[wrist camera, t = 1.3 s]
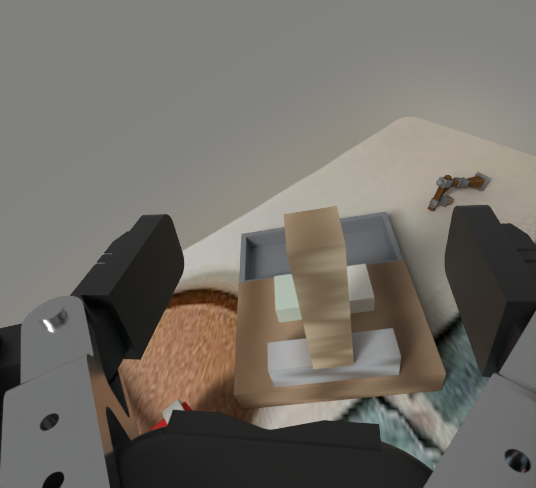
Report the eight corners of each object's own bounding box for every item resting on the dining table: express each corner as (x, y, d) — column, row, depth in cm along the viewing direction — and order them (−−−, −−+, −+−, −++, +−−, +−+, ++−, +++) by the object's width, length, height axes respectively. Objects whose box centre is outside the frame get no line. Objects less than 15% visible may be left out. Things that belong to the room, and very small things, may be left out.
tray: (385, 227, 46) (386, 211, 44) (403, 278, 40) (405, 263, 38) (246, 248, 48) (241, 234, 46) (244, 299, 42) (239, 285, 40)
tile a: (365, 277, 37) (365, 263, 36) (374, 310, 35) (374, 297, 33) (325, 282, 38) (323, 269, 37) (330, 316, 35) (328, 303, 34)
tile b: (317, 283, 38) (315, 270, 37) (321, 317, 35) (319, 304, 34) (277, 288, 39) (274, 276, 37) (279, 322, 36) (275, 310, 34)
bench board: (402, 278, 40) (404, 259, 38) (441, 390, 32) (446, 373, 29) (245, 299, 42) (238, 282, 40) (242, 409, 34) (233, 395, 32)
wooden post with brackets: (418, 206, 46) (434, 172, 43) (461, 202, 50) (478, 170, 47) (429, 214, 45) (446, 179, 42) (472, 209, 48) (491, 177, 46)
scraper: (390, 344, 32) (400, 196, 21) (400, 378, 30) (416, 233, 19) (273, 357, 33) (224, 223, 22) (274, 391, 31) (220, 261, 20)
